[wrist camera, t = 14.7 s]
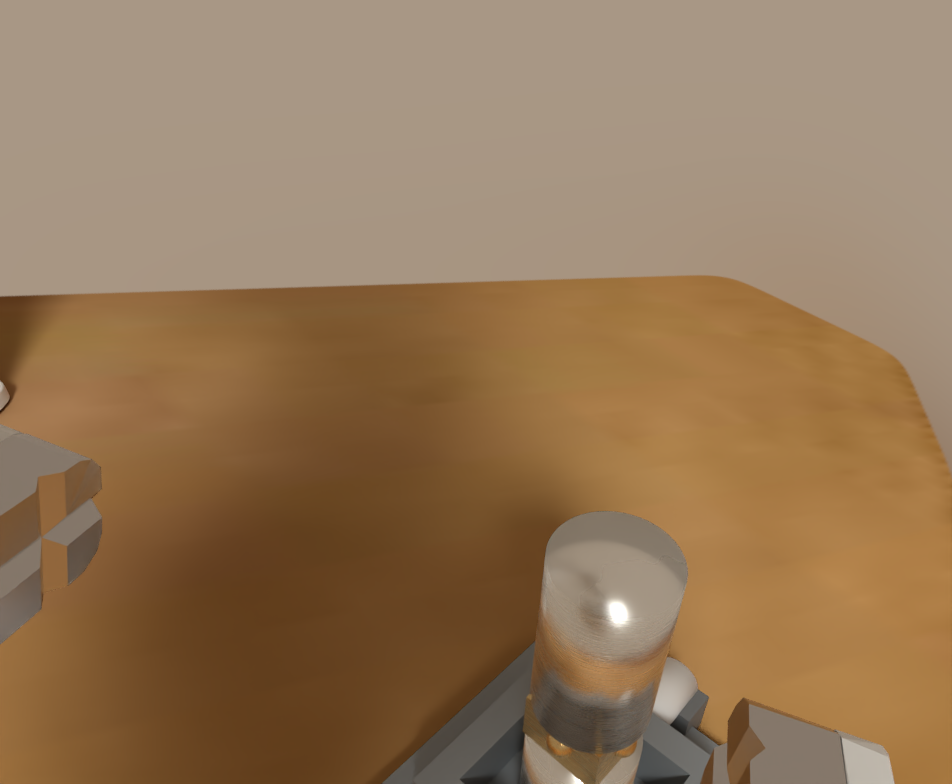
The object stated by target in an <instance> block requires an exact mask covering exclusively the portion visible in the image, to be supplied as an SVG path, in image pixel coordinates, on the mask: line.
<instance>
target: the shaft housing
mask: <svg viewBox="0 0 952 784" xmlns="http://www.w3.org/2000/svg"><path fill="white" fill-rule="evenodd" d="M534 650H535V642H534V643H533V644H531V645H530V646H529V647H528V648H527V649H526V650H525V651H524V652H523V653H522V654H521V655H520V656H519V657H517V658H516V659H515V660H514V661H513V662H512V663H511V664H510V665H509V666H508V667H507V668H506V669H505V670H503V671H502V672H501V673H500V674H499V675H498V676H497V677H496V678H495V679H494V680H493V681H492V682H491V683H489V684H488V685H487V686H486V687H485V688H484V689H483V690H482V691H481V692H480V693H479V694H478V695H477V696H475V697H474V698H473V699H472V700H471V701H470V702H469V703H468V704H467V705H466V706H465V707H464V708H463V709H461V710H460V711H459V712H458V713H457V714H456V715H455V716H454V717H453V718H452V719H451V720H450V721H449V722H447V723H446V724H445V725H444V726H443V727H442V728H441V729H440V730H439V731H438V732H437V733H436V734H435V735H433V736H432V737H431V738H430V739H429V740H428V741H427V742H426V743H425V744H424V745H423V746H422V747H421V748H419V749H418V750H417V751H416V752H415V753H414V754H413V755H412V756H411V757H410V758H409V759H408V760H406V761H405V762H404V763H403V764H402V765H401V766H400V767H399V768H398V769H397V770H396V771H395V772H394V773H392V774H391V775H390V776H389V777H388V778H387V779H386V780H385V781H384V782H383V783H382V784H519V783H520V774H521V765H522V756H523V747H524V739H525V733H524V732H523V723H524V714H525V705H526V697H527V696H528V695H529V694H530V686H531V677H532V668H533V659H534ZM708 699H709V697H708V696H707V695H705V694H704V693H703V692H701V691H700V690H698V685H697V681H696V679H695V677H694V675H693V674H692V672H691V671H690V670H689V669H688V668H687V667H686V666H685V665H684V664H682V663H681V662H679V661H678V660H676V659H673V658H670V657H667V659H666V663H665V666H664V670H663V674H662V678H661V681H660V685H659V689H658V693H657V696H656V700H655V704H654V708H653V712H652V715H651V719H650V722H649V725H648V727H647V728H646V731H645V732H644V733H643V748H642V753H641V757H640V760H639V764H638V768H637V772H636V776H635V779H634V783H633V784H700V782H701V779H702V776H703V772H704V769H705V767H706V765H707V762H708V760H709V758H710V756H711V754H712V752H713V749H714V748H715V747H718V746H719V745H717V744H716V743H715V742H713V741H712V740H710V739H709V738H708V737H706V736H705V735H704V734H702V733H701V732H699V731H698V730H697V728H698V726H699V725H700V723H701V720H702V717H703V714H704V711H705V708H706V705H707V702H708Z"/></svg>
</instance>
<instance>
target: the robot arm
mask: <svg viewBox="0 0 952 784" xmlns="http://www.w3.org/2000/svg"><path fill="white" fill-rule="evenodd" d="M9 398H10V396H9V393H8V391H7V389H6V388H5V386H4V384H3V383H2V382H1V381H0V410H1V409H2V408H3V407H4V406H5V405H6V403H7V402H8V400H9ZM101 489H102V482H101V467H100V466H99V465H98V464H97V463H95V462H94V461H93V460H92V459H90V458H87V457H84V456H82V455H79V454H77V453H74V452H72V451H69V450H67V449H64V448H62V447H59V446H57V445H54V444H51V443H49V442H46V441H44V440H41V439H39V438H36V437H34V436H31V435H29V434H23V433H21V432H19V431H16V430H14V429H11V428H9V427H6V426H4V425H1V424H0V644H1V643H3V642H4V641H5V640H6V639H7V638H8V637H9V636H11V635H12V634H13V633H14V632H15V631H16V630H18V629H19V628H20V627H21V626H22V625H23V624H25V623H26V622H27V621H28V620H29V619H30V618H32V617H33V616H34V615H35V614H36V613H37V612H39V611H40V610H41V609H42V602H43V595H44V593H46V592H49V591H53V590H56V589H60V588H63V587H66V586H68V585H70V584H71V583H72V582H73V581H74V580H75V579H76V578H77V577H78V576H79V575H80V574H82V573H83V572H84V571H85V569H86V567H87V566H88V564H89V563H90V561H91V559H92V558H93V556H94V555H95V553H96V551H97V549H98V545H99V541H100V538H101V534H102V517H101V515H100V513H99V511H98V510H97V508H96V506H95V504H94V503H93V501H92V498H93V497H94V496H95V495H96V494H97V493H98V492H99V491H100V490H101ZM700 784H895V783H894V778H893V773H892V768H891V764H890V759H889V754H888V753H887V752H886V750H885V749H884V747H883V746H882V745H879V744H876V743H873V742H870V741H867V740H864V739H861V738H858V737H856V736H853V735H850V734H847V733H844V732H841V731H838V730H832V729H830V728H827V727H824V726H822V725H819V724H816V723H813V722H811V721H808V720H805V719H802V718H799V717H797V716H794V715H791V714H788V713H785V712H783V711H780V710H777V709H774V708H771V707H769V706H766V705H763V704H760V703H757V702H755V701H752V700H749V699H746V698H742V699H741V701H740V702H739V703H738V704H737V705H736V706H735V708H734V710H733V712H732V714H731V716H730V718H729V720H728V736H727V743H725V744H723V745H720V746H718V747H715V748H714V749H713V752H712V754H711V756H710V758H709V760H708V762H707V765H706V767H705V769H704V772H703V776H702V779H701V782H700Z"/></svg>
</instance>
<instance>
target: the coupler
mask: <svg viewBox="0 0 952 784" xmlns="http://www.w3.org/2000/svg"><path fill="white" fill-rule="evenodd" d="M687 577H688V568H687V563H686V560H685V557H684V555H683V553H682V551H681V549H680V548H679V546H678V545H677V544H676V542H675V541H674V540H673V539H672V538H671V537H670V536H669V535H668V534H667V533H666V532H665V531H663V530H662V529H661V528H659V527H658V526H656V525H654V524H652V523H651V522H649V521H647V520H644V519H642V518H640V517H637V516H634V515H630V514H626V513H621V512H612V511H598V512H590V513H586V514H582V515H579V516H576V517H573V518H571V519H570V520H568V521H566V522H565V523H563V524H562V525H560V526H559V527H558V528H557V529H556V530H555V532H554V533H553V534H552V535H551V537H550V539H549V541H548V544H547V547H546V553H545V562H544V571H543V580H542V588H541V597H540V606H539V615H538V624H537V633H536V641H535V650H534V659H533V668H532V677H531V686H530V694H529V695H528V696H527V697H526V705H525V714H524V723H523V732H524V733H525V739H524V747H523V756H522V765H521V774H520V783H519V784H633V783H634V779H635V776H636V772H637V768H638V764H639V760H640V757H641V753H642V748H643V733H644V732H645V731H646V728H647V727H648V725H649V722H650V719H651V715H652V712H653V708H654V704H655V700H656V696H657V693H658V689H659V685H660V681H661V678H662V674H663V670H664V666H665V663H666V659H667V655H668V651H669V647H670V644H671V640H672V636H673V632H674V629H675V625H676V621H677V617H678V614H679V610H680V606H681V602H682V599H683V595H684V591H685V587H686V583H687Z"/></svg>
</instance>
